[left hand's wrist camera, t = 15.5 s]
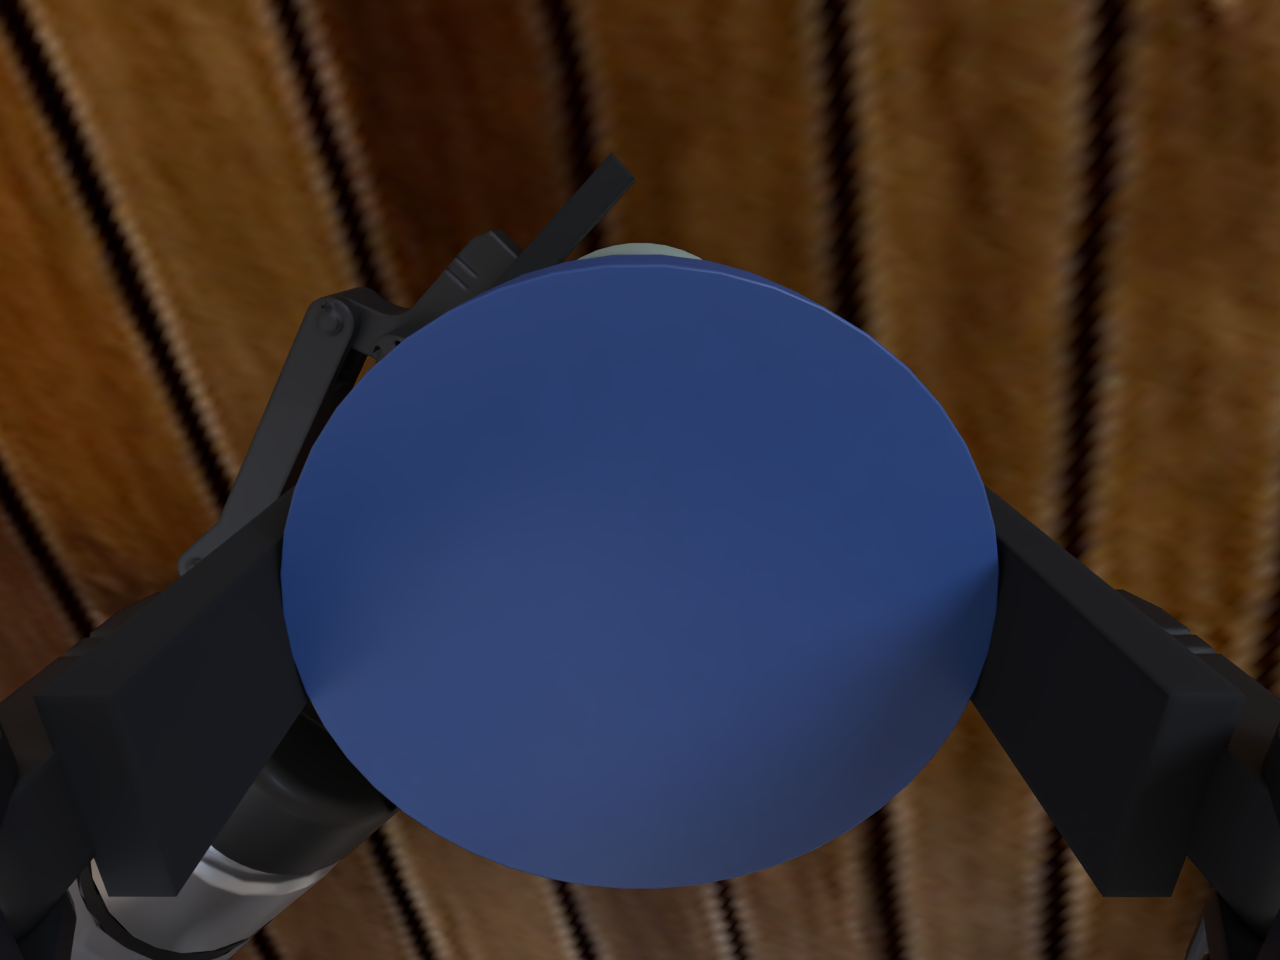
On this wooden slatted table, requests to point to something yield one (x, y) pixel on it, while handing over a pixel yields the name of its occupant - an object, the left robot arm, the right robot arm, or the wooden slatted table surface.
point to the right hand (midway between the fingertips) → (757, 312)
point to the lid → (639, 574)
